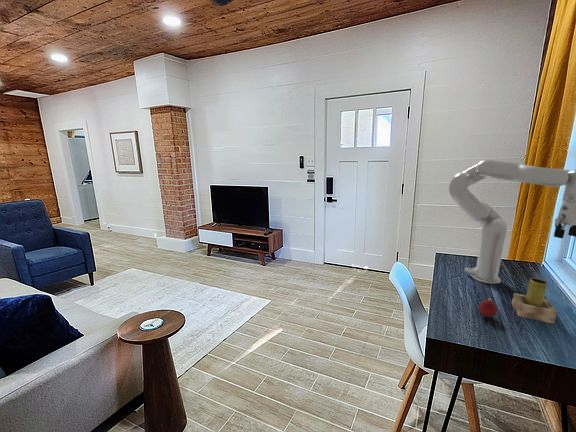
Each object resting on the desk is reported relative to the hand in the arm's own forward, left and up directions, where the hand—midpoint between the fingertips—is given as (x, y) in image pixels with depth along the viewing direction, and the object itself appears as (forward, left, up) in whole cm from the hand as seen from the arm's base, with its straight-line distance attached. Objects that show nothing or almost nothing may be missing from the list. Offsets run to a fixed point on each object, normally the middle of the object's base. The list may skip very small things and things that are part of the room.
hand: (565, 236), depth 123 cm
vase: (-13, -25, -28) cm, 40 cm away
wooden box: (-13, -25, -28) cm, 40 cm away
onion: (-30, -38, -28) cm, 56 cm away
